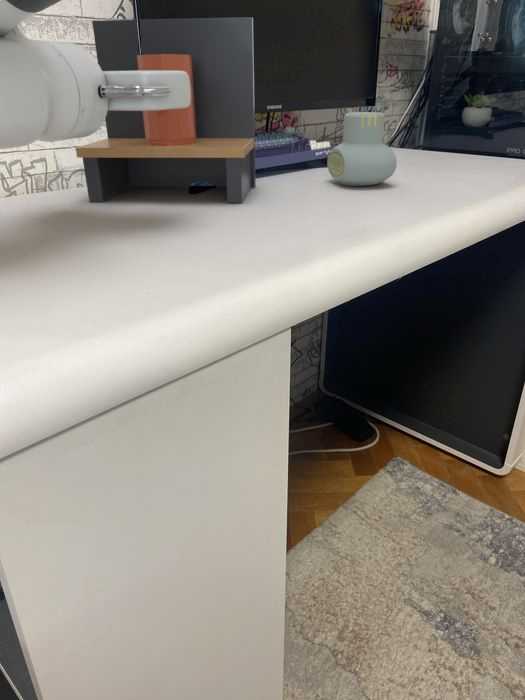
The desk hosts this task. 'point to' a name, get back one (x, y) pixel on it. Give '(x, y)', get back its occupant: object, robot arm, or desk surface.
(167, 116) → the cup
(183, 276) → the desk surface
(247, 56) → the shelf rack
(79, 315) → the desk surface
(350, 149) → the air freshener
